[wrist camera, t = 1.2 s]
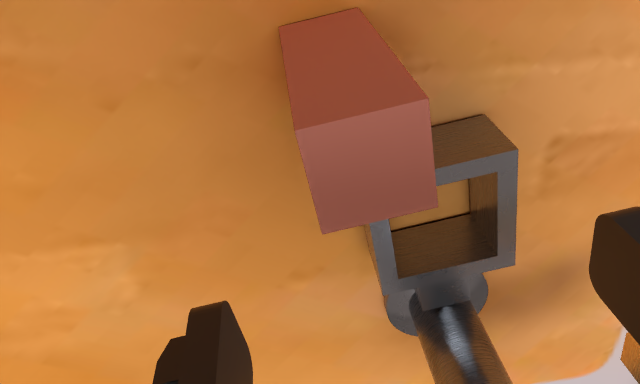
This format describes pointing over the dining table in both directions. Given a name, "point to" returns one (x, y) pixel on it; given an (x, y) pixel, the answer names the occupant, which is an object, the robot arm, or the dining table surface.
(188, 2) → the dining table surface
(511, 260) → the grey stand
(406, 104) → the red rectangular block
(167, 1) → the dining table surface
